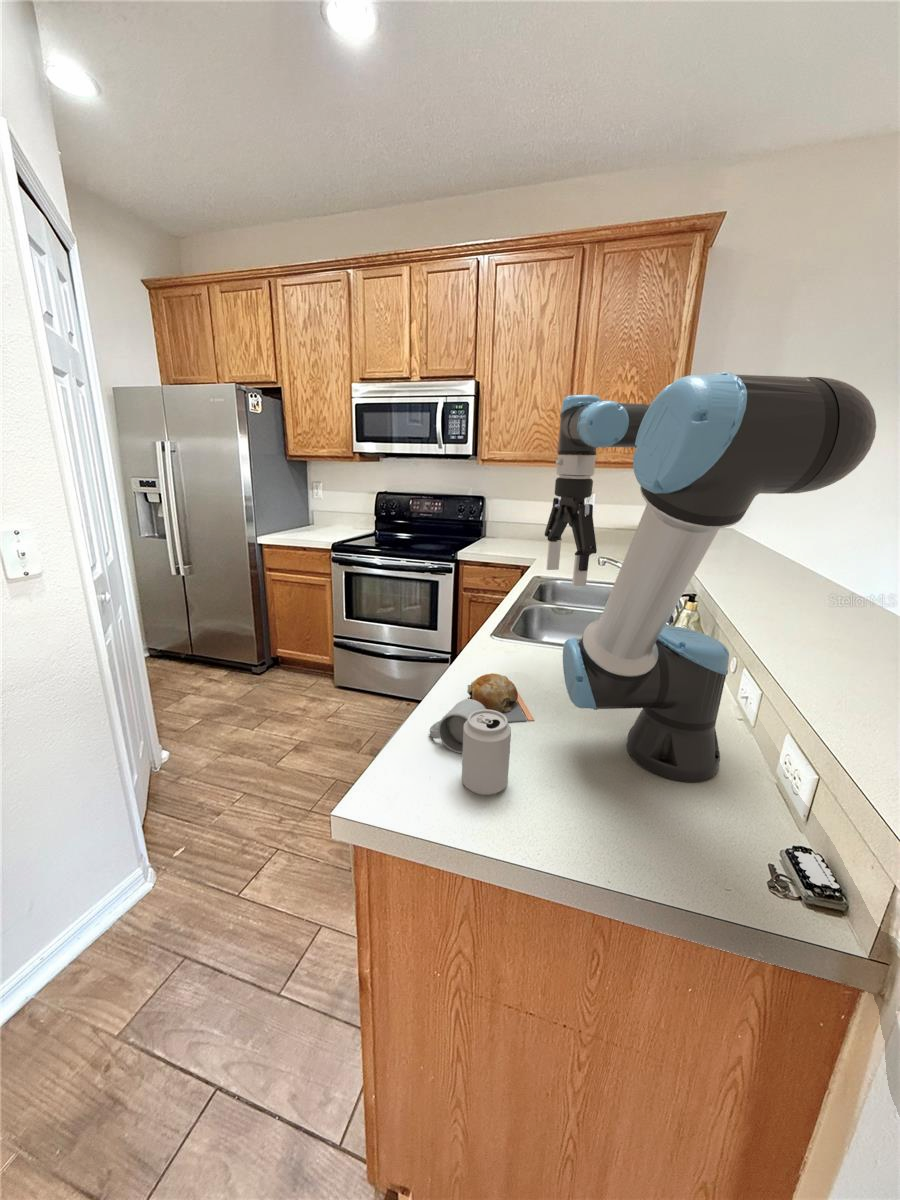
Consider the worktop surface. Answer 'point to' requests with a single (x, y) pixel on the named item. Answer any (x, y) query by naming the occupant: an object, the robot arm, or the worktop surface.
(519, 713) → the mat
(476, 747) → the can
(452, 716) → the ceramic mug
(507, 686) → the bread roll
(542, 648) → the worktop surface
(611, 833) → the worktop surface
